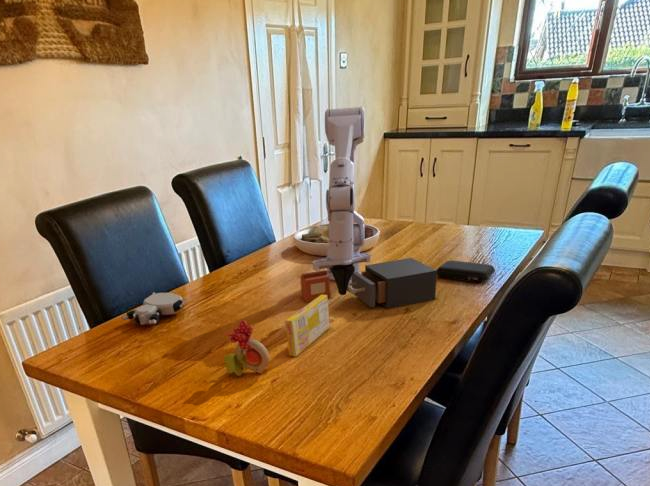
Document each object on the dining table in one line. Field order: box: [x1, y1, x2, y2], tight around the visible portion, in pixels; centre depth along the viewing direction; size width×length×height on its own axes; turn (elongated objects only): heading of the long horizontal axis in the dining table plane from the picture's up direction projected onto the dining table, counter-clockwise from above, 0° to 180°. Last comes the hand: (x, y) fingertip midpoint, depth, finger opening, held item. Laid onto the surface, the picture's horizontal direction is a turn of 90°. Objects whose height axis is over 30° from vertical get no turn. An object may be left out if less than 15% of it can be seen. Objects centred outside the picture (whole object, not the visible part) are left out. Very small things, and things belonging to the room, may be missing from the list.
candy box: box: [284, 295, 331, 358], centre depth 113 cm, size 16×2×8 cm, turn 149°
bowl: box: [293, 223, 380, 257], centre depth 180 cm, size 30×30×8 cm
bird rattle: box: [223, 319, 270, 377], centre depth 102 cm, size 6×11×9 cm
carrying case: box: [436, 260, 496, 283], centre depth 144 cm, size 11×3×15 cm
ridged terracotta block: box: [299, 269, 331, 303], centre depth 137 cm, size 7×5×7 cm
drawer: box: [347, 270, 386, 308], centre depth 132 cm, size 17×12×6 cm
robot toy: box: [120, 291, 190, 326], centre depth 134 cm, size 12×4×15 cm
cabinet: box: [364, 257, 438, 309], centre depth 134 cm, size 14×13×8 cm
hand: (342, 293), depth 131 cm, fingers closed
